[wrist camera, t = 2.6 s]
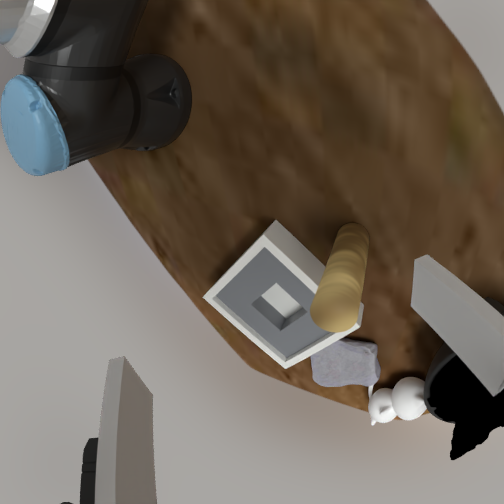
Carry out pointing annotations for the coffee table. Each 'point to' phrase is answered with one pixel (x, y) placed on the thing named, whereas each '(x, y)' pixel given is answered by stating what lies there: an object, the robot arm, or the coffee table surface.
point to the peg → (342, 281)
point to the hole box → (275, 297)
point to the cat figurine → (397, 401)
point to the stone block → (346, 364)
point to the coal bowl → (461, 401)
